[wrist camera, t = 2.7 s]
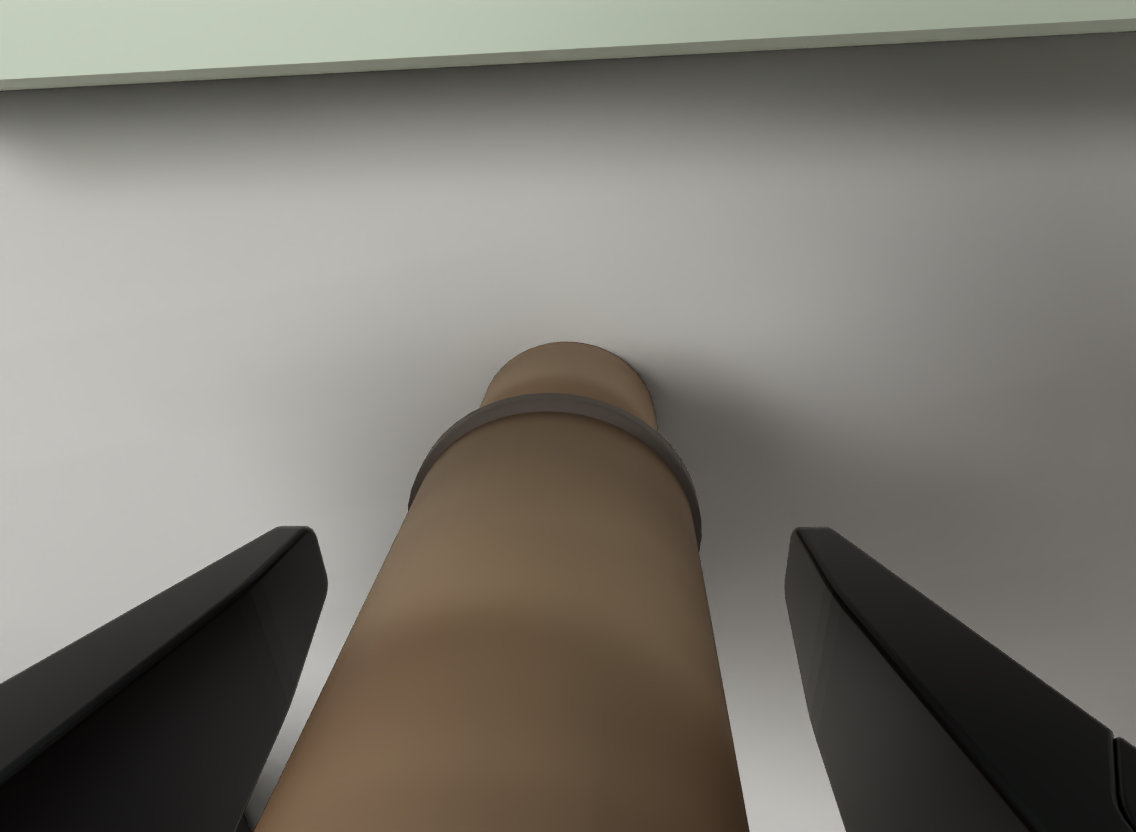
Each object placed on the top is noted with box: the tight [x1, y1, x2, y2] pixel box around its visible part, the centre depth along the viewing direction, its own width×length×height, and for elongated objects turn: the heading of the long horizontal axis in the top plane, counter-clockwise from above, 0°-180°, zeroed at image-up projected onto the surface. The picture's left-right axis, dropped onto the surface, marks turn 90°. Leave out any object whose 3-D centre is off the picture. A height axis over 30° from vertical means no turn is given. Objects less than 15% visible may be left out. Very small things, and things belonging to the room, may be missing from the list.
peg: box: [254, 342, 749, 832], centre depth 7 cm, size 4×4×10 cm
